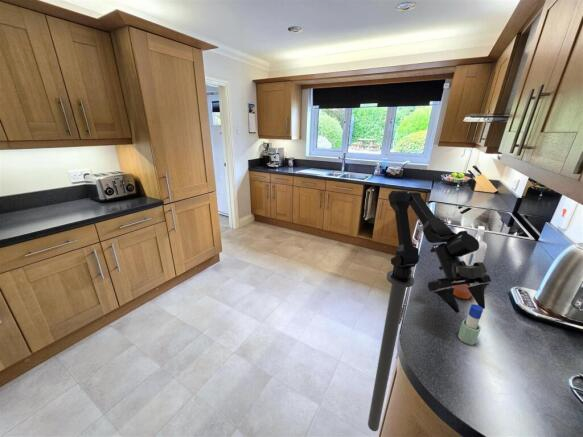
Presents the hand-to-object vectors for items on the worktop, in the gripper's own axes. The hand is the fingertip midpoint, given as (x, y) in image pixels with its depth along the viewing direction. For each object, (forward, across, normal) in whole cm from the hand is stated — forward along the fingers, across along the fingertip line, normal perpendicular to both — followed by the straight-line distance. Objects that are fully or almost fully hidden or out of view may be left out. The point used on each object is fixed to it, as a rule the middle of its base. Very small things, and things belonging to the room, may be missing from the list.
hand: (470, 310), depth 74 cm
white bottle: (-10, +26, +24) cm, 37 cm away
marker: (+7, 0, +6) cm, 9 cm away
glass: (+8, 0, +6) cm, 10 cm away
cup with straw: (-6, +17, +20) cm, 26 cm away
